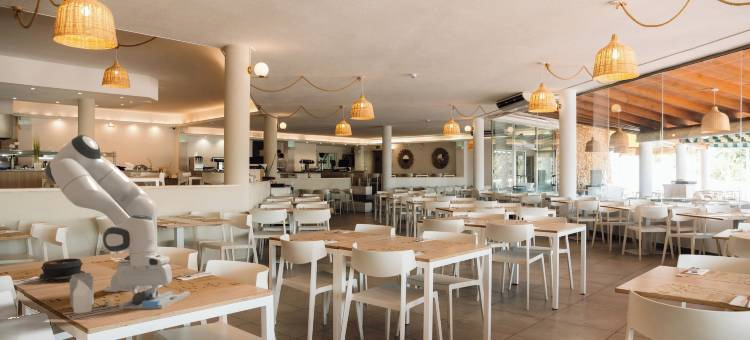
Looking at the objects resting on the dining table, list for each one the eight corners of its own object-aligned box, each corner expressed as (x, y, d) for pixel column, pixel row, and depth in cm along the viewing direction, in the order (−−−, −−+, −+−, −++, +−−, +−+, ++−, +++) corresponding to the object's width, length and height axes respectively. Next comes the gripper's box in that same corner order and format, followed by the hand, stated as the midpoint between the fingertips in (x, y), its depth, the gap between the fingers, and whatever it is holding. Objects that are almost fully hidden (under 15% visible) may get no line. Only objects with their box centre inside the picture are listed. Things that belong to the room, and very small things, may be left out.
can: (76, 304, 192) (75, 272, 192) (97, 303, 192) (96, 271, 192) (66, 310, 184) (65, 276, 184) (88, 309, 185) (87, 275, 185)
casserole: (29, 279, 243) (28, 262, 243) (71, 272, 258) (71, 256, 258) (52, 285, 228) (52, 266, 228) (95, 277, 243) (95, 260, 243)
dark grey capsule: (142, 305, 184) (142, 294, 184) (132, 305, 185) (132, 294, 185) (158, 298, 194) (157, 287, 194) (148, 298, 195) (148, 287, 195)
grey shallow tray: (119, 310, 181) (119, 301, 181) (151, 296, 201) (150, 288, 201) (162, 311, 179) (161, 301, 179) (189, 297, 199) (189, 288, 199)
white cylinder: (95, 278, 180) (80, 281, 175) (96, 312, 180) (81, 316, 175) (82, 277, 182) (68, 280, 177) (83, 311, 182) (69, 315, 177)
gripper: (111, 261, 186) (113, 299, 186) (164, 260, 184) (166, 299, 184) (122, 258, 193) (123, 295, 193) (173, 257, 190) (175, 295, 190)
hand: (144, 297), depth 188 cm, fingers open, 5 cm apart
